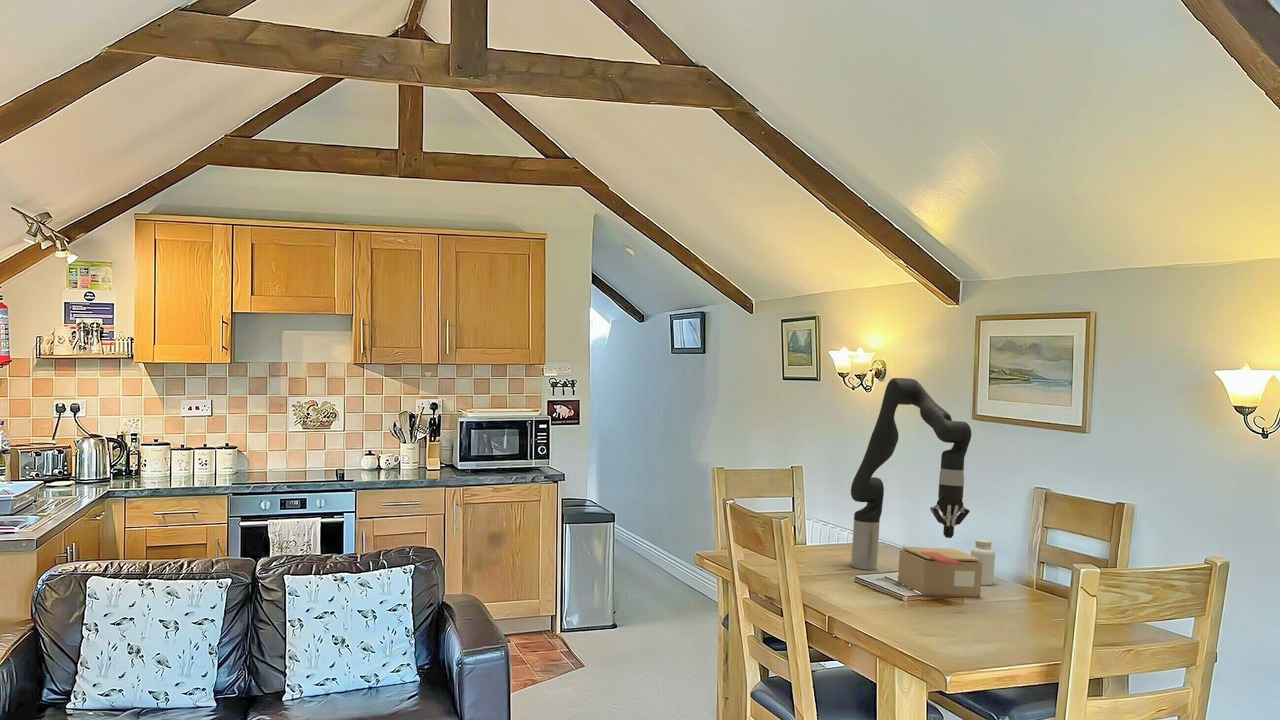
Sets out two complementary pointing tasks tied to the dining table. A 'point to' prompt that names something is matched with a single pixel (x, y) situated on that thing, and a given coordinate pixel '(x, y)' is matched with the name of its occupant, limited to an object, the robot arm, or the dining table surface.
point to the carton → (939, 574)
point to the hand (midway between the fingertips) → (948, 537)
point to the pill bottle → (985, 560)
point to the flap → (948, 557)
